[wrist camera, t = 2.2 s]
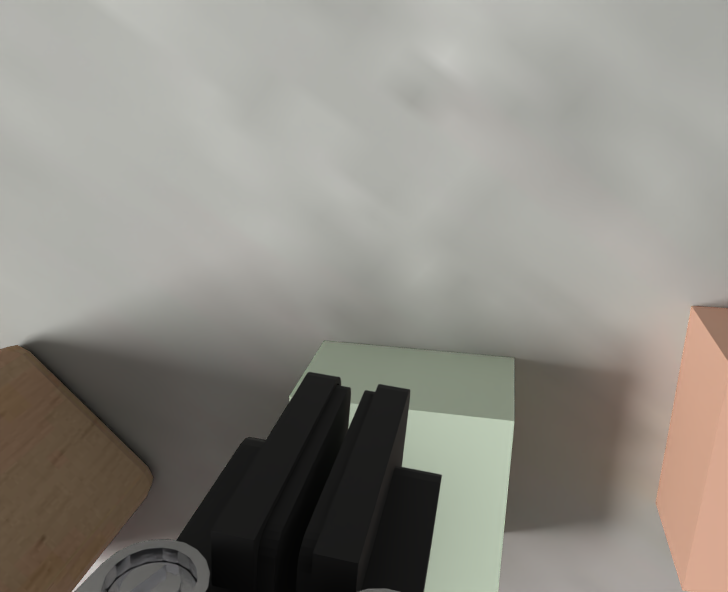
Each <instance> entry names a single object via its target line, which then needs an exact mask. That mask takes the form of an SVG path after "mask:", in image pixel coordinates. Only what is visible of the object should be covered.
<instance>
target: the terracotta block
mask: <svg viewBox="0 0 728 592" xmlns="http://www.w3.org/2000/svg"><path fill="white" fill-rule="evenodd" d="M656 505H657V509H658V512H659V515H660V518H661V522H662V525H663V528H664V531H665V535H666V538H667V541H668V545H669V548H670V551H671V554H672V558H673V561H674V564H675V567H676V571H677V574H678V577H679V581H680V584H681V587H682V590H684V591H691V592H728V308H718V307H701V306H691V311H690V317H689V322H688V328H687V333H686V339H685V344H684V350H683V355H682V361H681V366H680V372H679V377H678V383H677V388H676V394H675V399H674V405H673V410H672V416H671V421H670V427H669V432H668V438H667V443H666V449H665V454H664V460H663V465H662V471H661V476H660V482H659V487H658V493H657V498H656Z"/></svg>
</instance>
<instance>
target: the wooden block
mask: <svg viewBox="0 0 728 592" xmlns="http://www.w3.org/2000/svg"><path fill="white" fill-rule="evenodd" d="M152 481H153V476H152V474H151V472H150V470H149V468H148V466H147V465H146V464H145V463H144V462H143V461H141V460H140V459H139V458H138V457H137V456H136V455H135V454H134V453H133V452H132V451H131V450H130V449H129V448H128V447H127V446H126V445H125V444H124V443H123V442H122V441H121V440H120V439H119V438H118V437H117V436H116V435H115V434H114V433H113V432H112V431H111V430H110V429H109V428H108V427H107V426H106V425H105V424H104V423H103V422H102V421H100V420H99V419H98V418H97V417H96V416H95V415H94V414H93V413H92V412H91V411H90V410H89V409H88V408H87V407H86V406H85V405H84V404H83V403H82V402H81V401H80V400H79V399H78V398H77V397H76V396H75V395H74V394H73V393H72V392H71V391H70V390H69V389H68V388H67V387H66V386H65V385H64V384H63V383H62V382H61V381H59V380H58V379H57V378H56V377H55V376H54V375H53V374H52V373H51V372H50V371H49V370H48V369H47V368H46V367H45V366H44V365H43V364H42V363H41V362H40V361H39V360H38V359H37V358H36V357H35V356H34V355H33V354H32V353H31V352H30V351H28V350H26V349H24V348H22V347H20V346H18V345H15V346H10V347H6V348H3V349H0V592H72V590H73V589H74V588H75V587H76V585H77V584H78V583H79V582H80V580H81V579H82V578H83V576H84V575H85V574H86V573H87V571H88V570H89V569H90V568H91V566H92V565H93V564H94V563H95V561H96V560H97V559H98V558H99V556H100V555H101V554H102V553H103V551H104V550H105V549H106V547H107V546H108V545H109V544H110V542H111V541H112V540H113V539H114V537H115V536H116V535H117V534H118V532H119V531H120V530H121V529H122V527H123V526H124V525H125V524H126V522H127V521H128V520H129V518H130V517H131V516H132V515H133V513H134V512H135V511H136V510H137V508H138V507H139V506H140V505H141V503H142V502H143V501H144V500H145V498H146V497H147V495H148V492H149V490H150V487H151V485H152Z"/></svg>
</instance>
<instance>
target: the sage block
mask: <svg viewBox="0 0 728 592" xmlns="http://www.w3.org/2000/svg"><path fill="white" fill-rule="evenodd" d="M308 372H314V373H320V374H325V375H331V376H337V377H340V378H341V386H346V387H350V388H351V402H350V414H349V426H350V424H351V422H352V419H353V417H354V414H355V412H356V410H357V407H358V405H359V403H360V400H361V398H362V395H363V393H364V391H365V390H368V391H374V392H375V391H376V389H377V386H378V384H383V385H388V386H394V387H400V388H405V389H410V402H409V411H408V419H407V427H406V436H405V444H404V452H403V461H402V467H405V468H410V469H416V470H421V471H426V472H431V473H436V474H441V475H442V479H441V486H440V492H439V499H438V506H437V512H436V519H435V525H434V532H433V538H432V545H431V551H430V558H429V564H428V570H427V577H426V583H425V589H424V592H498V588H499V577H500V567H501V557H502V546H503V536H504V525H505V515H506V504H507V494H508V484H509V473H510V463H511V452H512V442H513V432H514V358H511V357H500V356H489V355H478V354H466V353H455V352H444V351H433V350H422V349H411V348H400V347H388V346H377V345H366V344H355V343H344V342H333V341H323V343H322V345H321V346H320V348H319V349H318V351H317V353H316V354H315V356H314V357H313V359H312V361H311V362H310V364H309V365H308V367H307V369H306V370H305V372H304V373H303V375H302V377H301V378H300V380H299V381H298V383H297V385H296V386H295V388H294V389H293V391H292V393H291V394H290V396H289V402H290V400H291V399H292V397H293V395H294V394H295V392H296V391H297V389H298V387H299V386H300V384H301V382H302V381H303V379H304V377H305V376H306V374H307V373H308ZM348 429H349V427H348Z"/></svg>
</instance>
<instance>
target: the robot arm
mask: <svg viewBox="0 0 728 592" xmlns="http://www.w3.org/2000/svg"><path fill="white" fill-rule="evenodd" d="M350 402H351V388H350V387H346V386H341V378H340V377H337V376H331V375H325V374H320V373H314V372H308V373H307V374H306V376H305V377H304V379H303V381H302V382H301V384H300V386H299V387H298V389H297V391H296V392H295V394H294V395H293V397H292V399H291V400H290V402H289V404H288V405H287V407H286V408H285V410H284V412H283V413H282V415H281V417H280V418H279V420H278V422H277V423H276V425H275V426H274V428H273V430H272V431H271V433H270V435H269V436H268V438H267V440H262V439H257V438H252V437H248V438H246V439H245V440H244V441H243V442H242V443H241V444H240V446H239V447H238V449H237V450H236V452H235V453H234V455H233V456H232V458H231V459H230V461H229V462H228V464H227V465H226V467H225V468H224V470H223V471H222V473H221V474H220V476H219V477H218V479H217V480H216V482H215V483H214V485H213V486H212V488H211V489H210V491H209V492H208V494H207V495H206V497H205V498H204V500H203V501H202V503H201V504H200V506H199V507H198V509H197V510H196V512H195V513H194V515H193V516H192V518H191V519H190V521H189V522H188V524H187V525H186V527H185V528H184V530H183V531H182V533H181V534H180V536H179V537H178V539H177V540H176V541H175V540H170V539H159V540H148V541H144V542H140V543H136V544H133V545H131V546H128V547H126V548H124V549H122V550H120V551H118V552H116V553H115V554H114V555H112V556H111V557H110V558H109V559H107V560H106V561H105V562H104V563H102V564H101V565H100V566H99V567H98V568H97V569H96V570H95V571H94V572H93V573H92V574H91V575H90V576H89V577H88V578H87V579H86V580H85V581H84V582H83V583H82V584H81V586H80V587H79V588H78V589H77V590H76V591H75V592H424V589H425V583H426V577H427V570H428V564H429V558H430V551H431V545H432V538H433V532H434V525H435V519H436V512H437V506H438V499H439V492H440V486H441V479H442V475H441V474H436V473H431V472H426V471H421V470H416V469H410V468H405V467H402V461H403V452H404V444H405V436H406V427H407V419H408V411H409V402H410V389H405V388H400V387H394V386H388V385H383V384H378V386H377V389H376V391H375V392H374V391H368V390H365V391H364V393H363V395H362V398H361V400H360V403H359V405H358V407H357V410H356V412H355V414H354V417H353V419H352V422H351V424H350V426H349V414H350ZM348 427H349V429H348Z"/></svg>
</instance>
